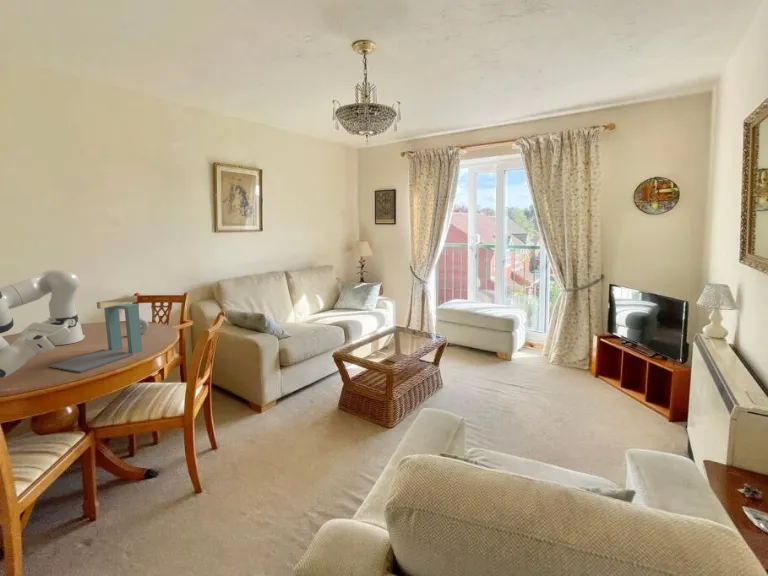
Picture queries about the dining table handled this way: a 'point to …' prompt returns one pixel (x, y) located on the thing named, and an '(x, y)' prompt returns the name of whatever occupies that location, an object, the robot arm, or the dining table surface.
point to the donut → (144, 325)
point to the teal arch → (131, 327)
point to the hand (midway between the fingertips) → (62, 319)
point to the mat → (91, 360)
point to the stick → (116, 302)
